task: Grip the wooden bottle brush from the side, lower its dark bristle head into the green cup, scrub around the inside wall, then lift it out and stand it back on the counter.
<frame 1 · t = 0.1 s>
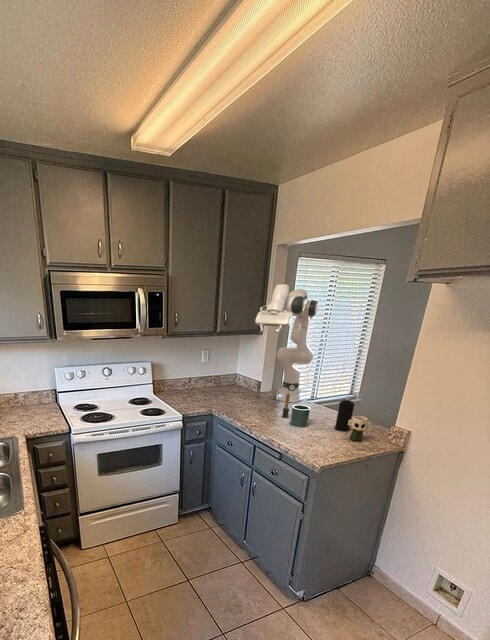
hand: (269, 332, 210), 54 cm above the counter, tool tilted 30°, fingers open, 8 cm apart
aerosol can: (341, 429, 214), on the counter
green cup: (298, 424, 221), on the counter
cartoon character figurine: (355, 440, 198), on the counter
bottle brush: (285, 417, 234), on the counter
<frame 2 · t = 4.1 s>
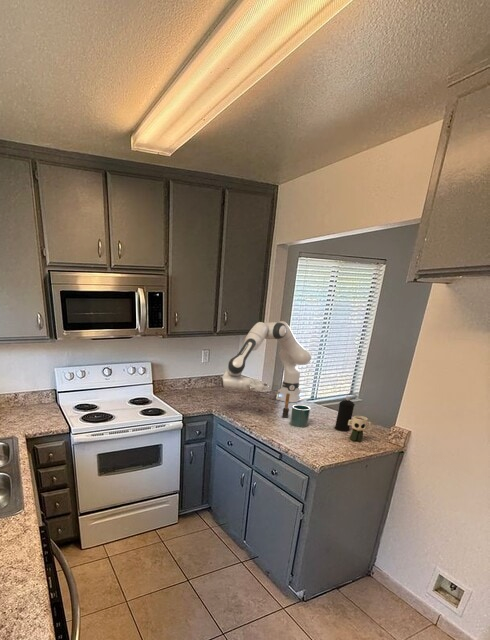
hand: (268, 386, 228), 20 cm above the counter, tool horizontal, fingers open, 8 cm apart
nothing on the counter moved.
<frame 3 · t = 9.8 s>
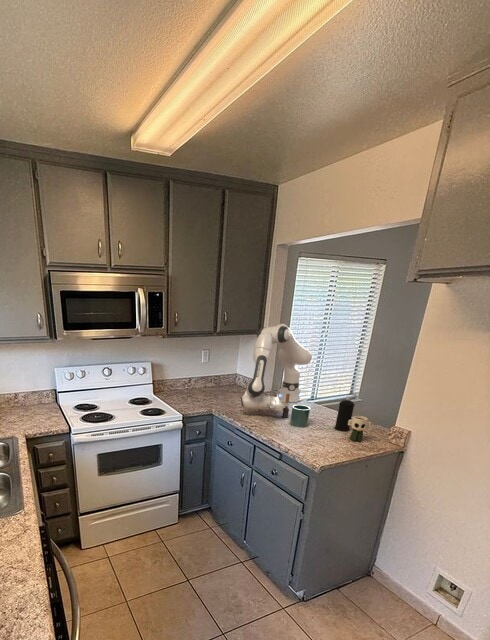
hand: (288, 404, 231), 9 cm above the counter, tool horizontal, fingers closed on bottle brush, 2 cm apart
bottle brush: (285, 417, 234), on the counter, touching gripper
everything else where it was.
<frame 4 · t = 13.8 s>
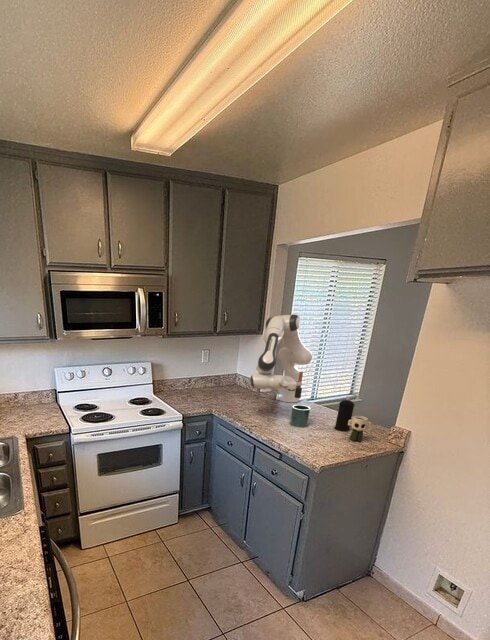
hand: (301, 383, 216), 25 cm above the counter, tool horizontal, fingers closed on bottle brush
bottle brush: (297, 397, 219), point 16 cm above the counter, touching gripper
everything else where it was.
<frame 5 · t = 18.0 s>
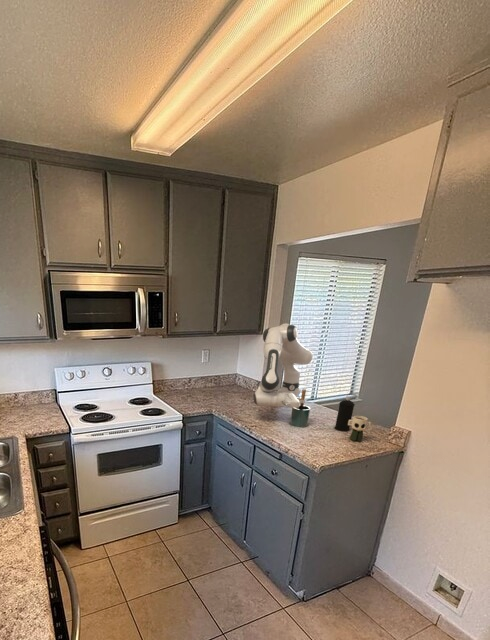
hand: (304, 400, 217), 15 cm above the counter, tool horizontal, fingers closed on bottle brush
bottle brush: (300, 414, 220), point 6 cm above the counter, touching gripper
everything else where it was.
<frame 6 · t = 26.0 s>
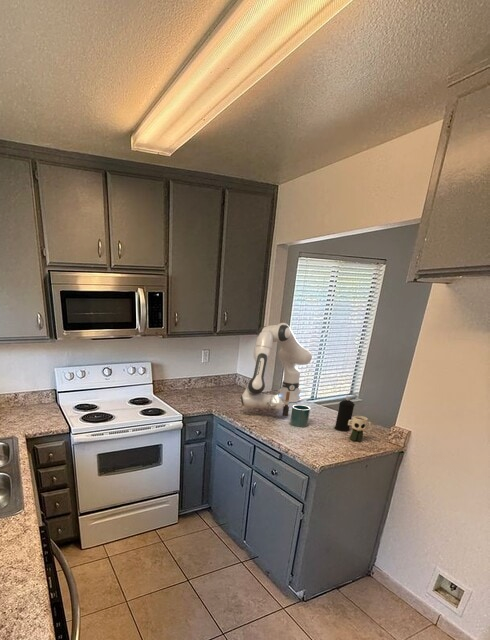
hand: (288, 402, 230), 10 cm above the counter, tool horizontal, fingers closed on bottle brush, 2 cm apart
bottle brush: (285, 415, 233), point 1 cm above the counter, touching gripper
everything else where it was.
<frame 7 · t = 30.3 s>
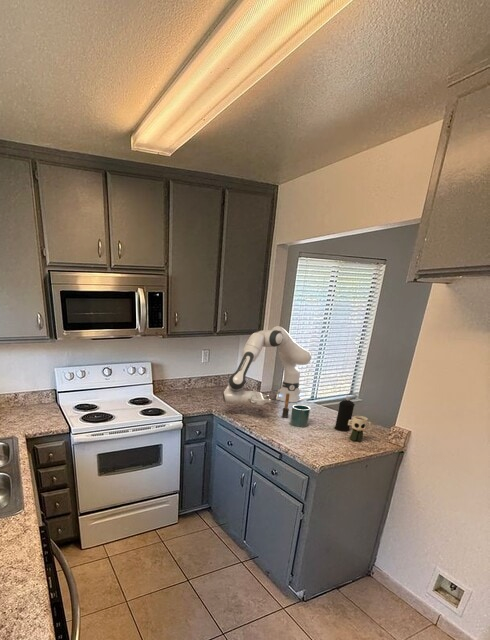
hand: (269, 398, 231), 12 cm above the counter, tool horizontal, fingers open, 8 cm apart
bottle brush: (284, 417, 234), on the counter
everything else where it was.
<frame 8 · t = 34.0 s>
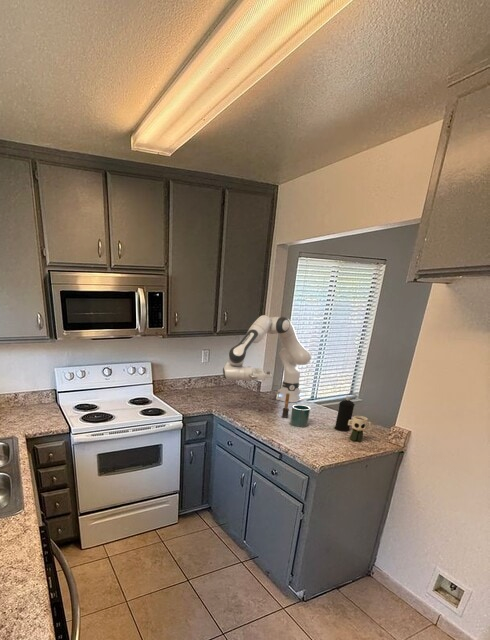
hand: (270, 374, 225), 28 cm above the counter, tool horizontal, fingers open, 8 cm apart
nothing on the counter moved.
at the end: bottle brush inside the target area (0.1 cm from its centre), on the counter; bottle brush tilted 0°; the gripper is holding nothing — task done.
